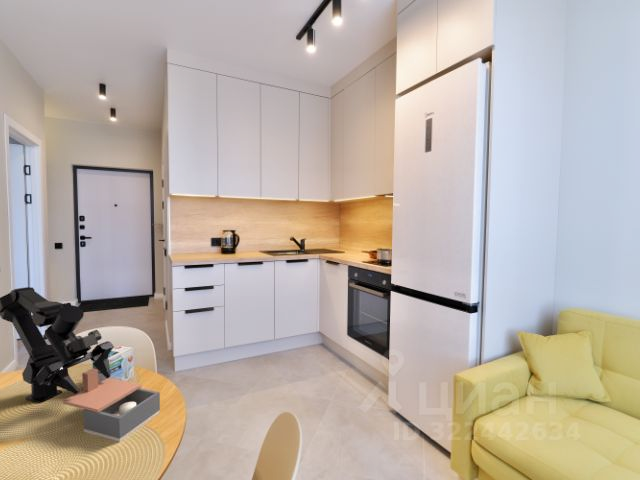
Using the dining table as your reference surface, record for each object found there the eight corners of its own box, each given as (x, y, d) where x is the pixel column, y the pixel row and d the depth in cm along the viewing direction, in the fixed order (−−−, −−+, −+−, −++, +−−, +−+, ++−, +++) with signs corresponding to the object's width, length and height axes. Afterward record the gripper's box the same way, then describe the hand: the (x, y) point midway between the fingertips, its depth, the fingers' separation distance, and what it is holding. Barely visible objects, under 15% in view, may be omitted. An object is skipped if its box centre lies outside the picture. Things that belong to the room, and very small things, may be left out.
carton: (84, 431, 84) (83, 409, 84) (127, 404, 97) (126, 385, 96) (119, 441, 81) (119, 418, 80) (159, 412, 93) (159, 392, 93)
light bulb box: (109, 392, 103) (108, 359, 103) (91, 390, 105) (91, 357, 104) (135, 377, 114) (134, 347, 113) (118, 374, 115) (118, 345, 114)
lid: (62, 403, 86) (62, 381, 85) (109, 380, 99) (108, 360, 98) (98, 412, 82) (97, 389, 82) (141, 387, 95) (141, 367, 95)
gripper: (41, 335, 83) (74, 384, 80) (108, 315, 101) (137, 355, 98) (22, 360, 86) (53, 409, 83) (90, 337, 104) (117, 376, 101)
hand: (94, 384), depth 91 cm, fingers open, 9 cm apart
